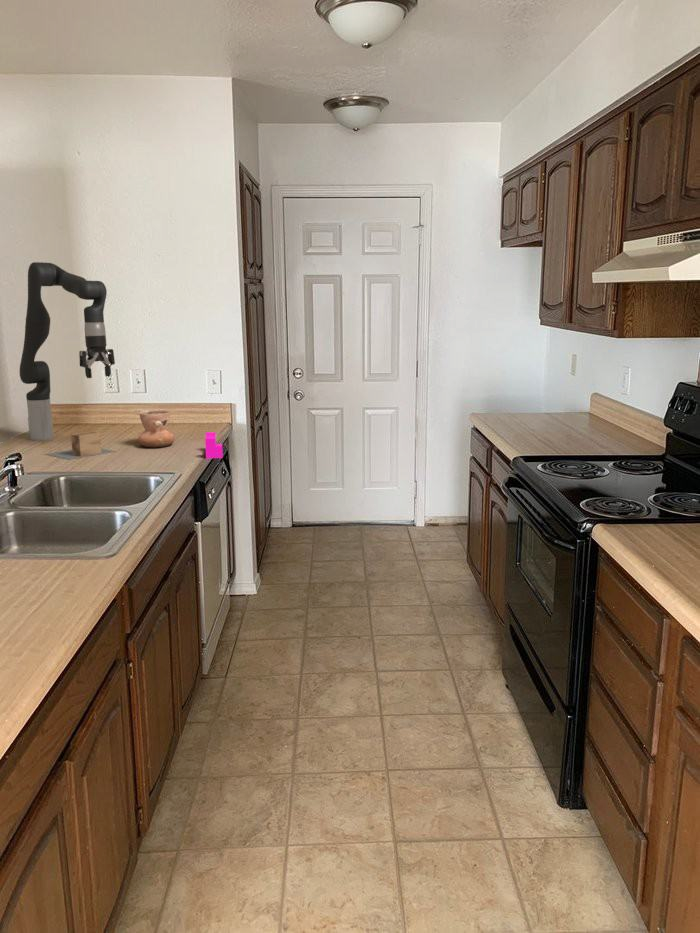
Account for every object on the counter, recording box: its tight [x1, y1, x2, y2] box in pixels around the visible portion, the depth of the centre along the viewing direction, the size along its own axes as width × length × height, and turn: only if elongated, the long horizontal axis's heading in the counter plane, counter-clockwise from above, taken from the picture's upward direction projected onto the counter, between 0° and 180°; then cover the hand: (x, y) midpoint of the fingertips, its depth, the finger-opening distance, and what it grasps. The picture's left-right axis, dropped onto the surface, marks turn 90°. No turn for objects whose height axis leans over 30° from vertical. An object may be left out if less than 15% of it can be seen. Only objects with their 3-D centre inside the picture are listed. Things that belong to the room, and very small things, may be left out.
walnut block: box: [70, 430, 102, 457], centre depth 286 cm, size 6×9×8 cm, turn 142°
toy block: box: [204, 431, 224, 459], centre depth 286 cm, size 15×6×8 cm, turn 10°
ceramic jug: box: [137, 409, 176, 449], centre depth 302 cm, size 18×14×14 cm
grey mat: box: [44, 448, 116, 461], centre depth 290 cm, size 17×20×1 cm
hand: (98, 377), depth 286 cm, fingers open, 8 cm apart
